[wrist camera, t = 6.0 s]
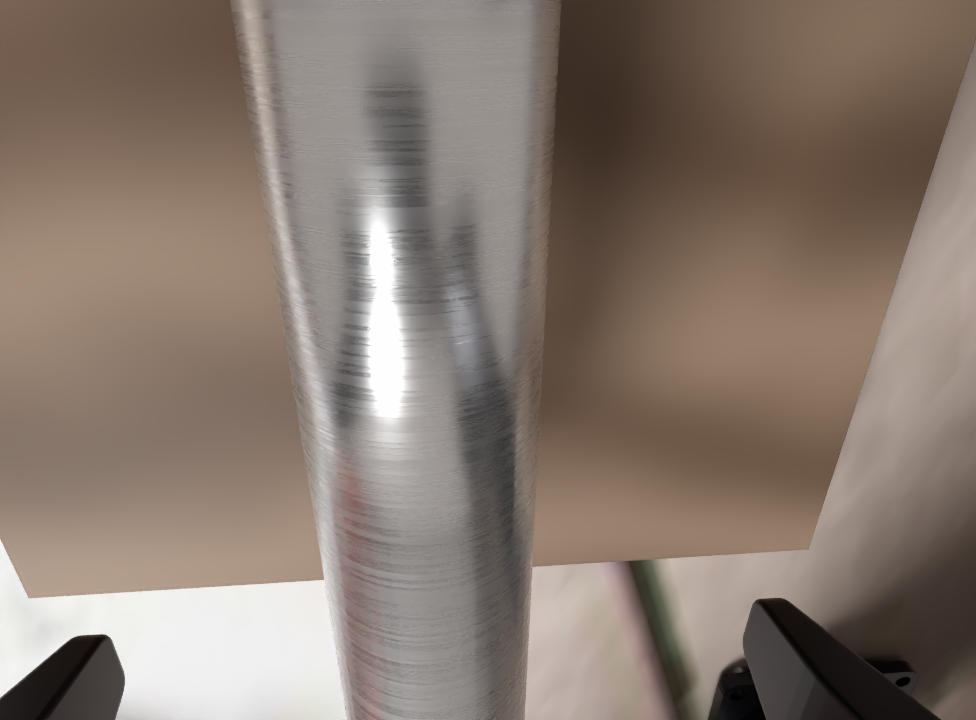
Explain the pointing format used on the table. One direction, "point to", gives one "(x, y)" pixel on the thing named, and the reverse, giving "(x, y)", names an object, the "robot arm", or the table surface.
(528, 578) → the steel pipe
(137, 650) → the table surface
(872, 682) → the robot arm
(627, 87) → the base board
